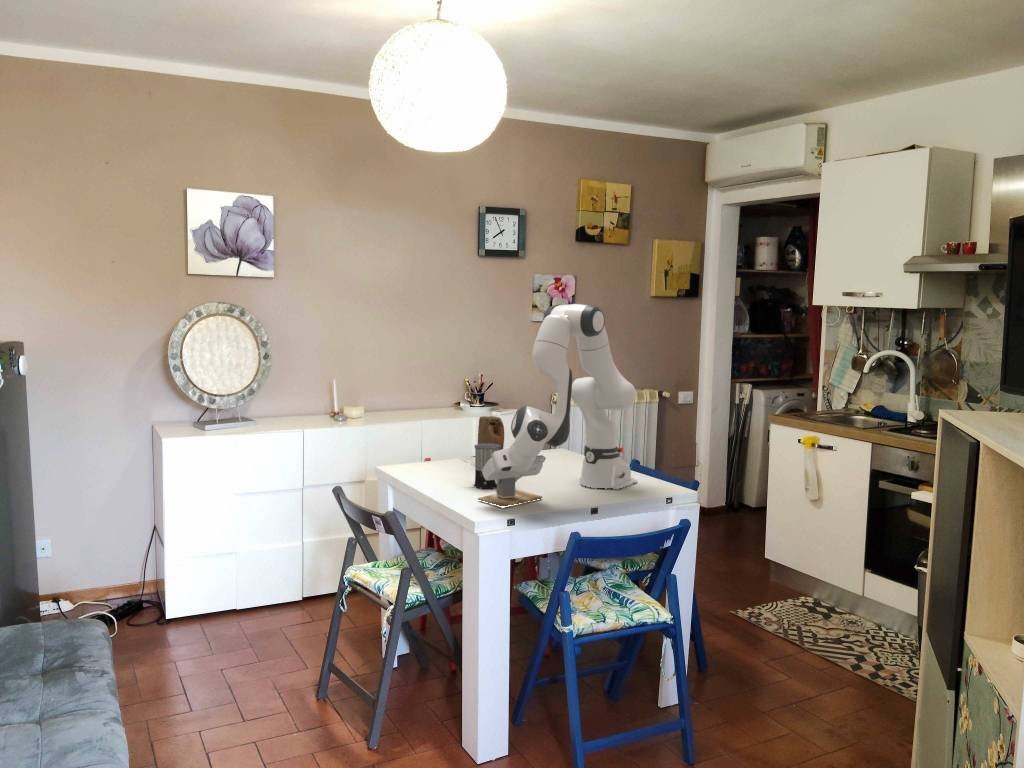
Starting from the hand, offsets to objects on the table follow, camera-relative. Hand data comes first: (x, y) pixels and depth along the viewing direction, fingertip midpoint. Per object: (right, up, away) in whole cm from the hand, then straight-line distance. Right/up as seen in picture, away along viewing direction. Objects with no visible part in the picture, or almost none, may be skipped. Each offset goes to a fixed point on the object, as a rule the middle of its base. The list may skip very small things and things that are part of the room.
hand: (505, 481), depth 273 cm
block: (-6, -1, +53) cm, 54 cm away
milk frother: (-5, -4, +24) cm, 25 cm away
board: (+2, -6, 0) cm, 7 cm away
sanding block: (0, -5, 0) cm, 5 cm away
